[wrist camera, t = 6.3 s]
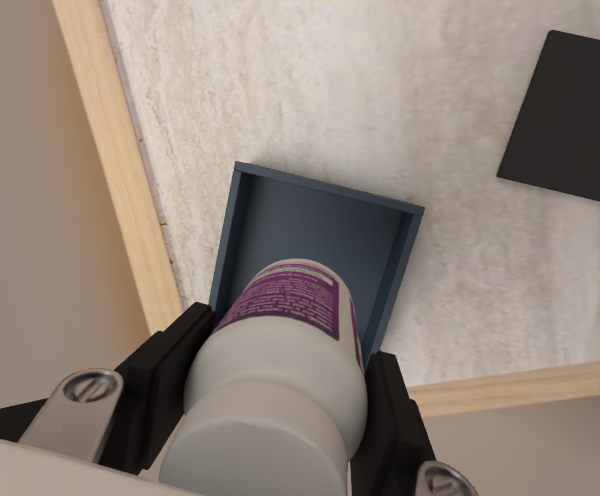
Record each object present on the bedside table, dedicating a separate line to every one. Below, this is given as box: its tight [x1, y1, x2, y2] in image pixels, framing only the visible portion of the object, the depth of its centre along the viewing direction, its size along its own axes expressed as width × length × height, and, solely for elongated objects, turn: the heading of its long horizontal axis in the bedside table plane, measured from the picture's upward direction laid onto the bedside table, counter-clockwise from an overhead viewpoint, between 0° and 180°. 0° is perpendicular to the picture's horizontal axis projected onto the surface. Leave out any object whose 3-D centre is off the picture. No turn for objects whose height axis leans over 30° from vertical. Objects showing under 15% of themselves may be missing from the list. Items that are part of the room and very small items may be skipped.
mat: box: [496, 30, 600, 201], centre depth 24 cm, size 10×10×1 cm
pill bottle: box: [158, 259, 368, 496], centre depth 11 cm, size 5×5×10 cm
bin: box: [208, 161, 425, 373], centre depth 26 cm, size 13×13×4 cm
